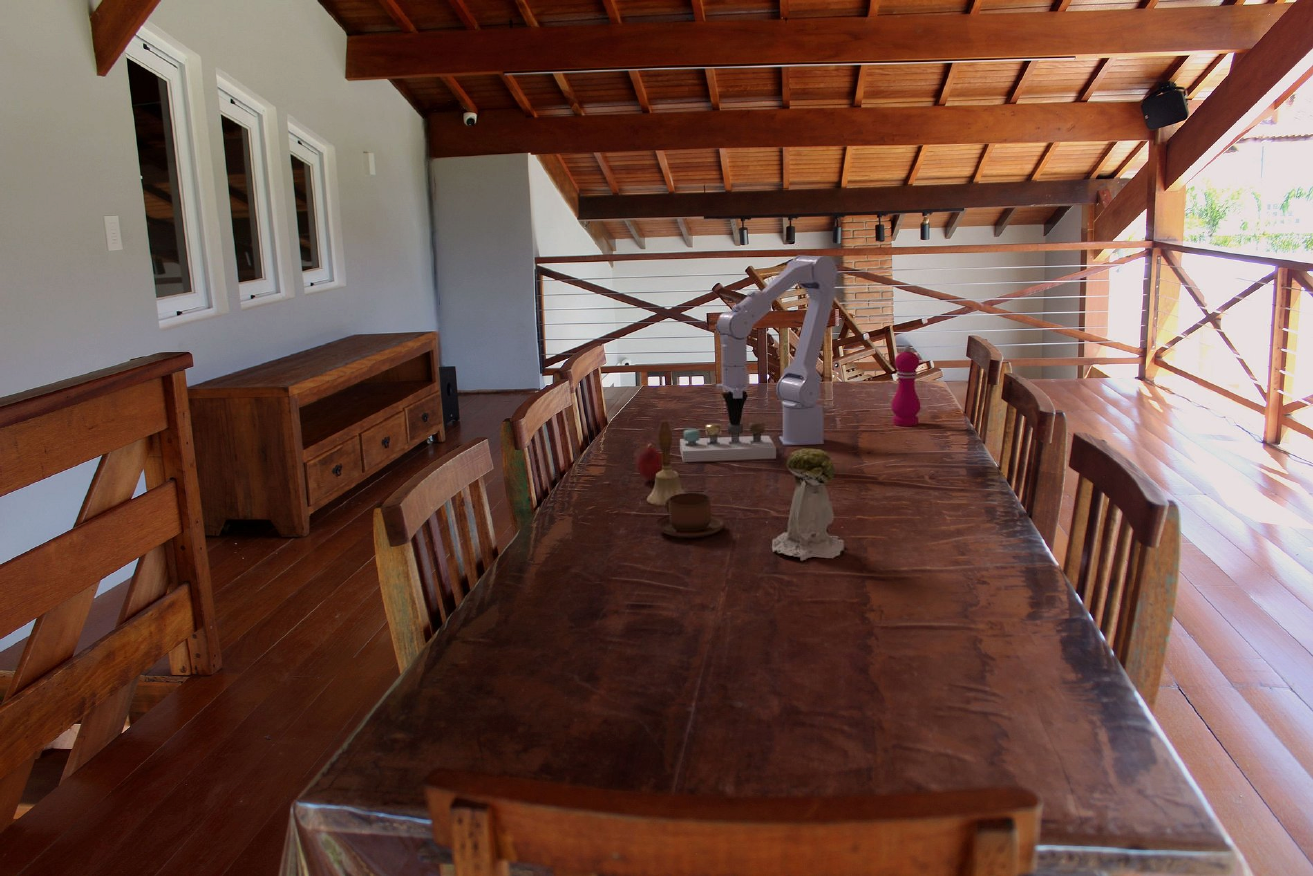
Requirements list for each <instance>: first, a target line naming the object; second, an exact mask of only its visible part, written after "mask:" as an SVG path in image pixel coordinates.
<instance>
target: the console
mask: <svg viewBox="0 0 1313 876" xmlns="http://www.w3.org/2000/svg"><path fill="white" fill-rule="evenodd" d="M717 438H718V443H716V444H710V437H703V438H702V437H700V440H698V441H696V446H688V441H685V440H684V438H680V439H679V451H680V455H681V456H680V457H681V459H682V463H688V462H689V463H690V462H692V463H693V462H695V463H696V462H697V463H698V462H715V461H716V462H717V461H719V462H720V461H742V460H767V459H768V460H770V459H777V447H776V446H775V444H774V442H773V440H772V439H771V437H770V436H769V435H761V442H753V435H752V436H750V435H749V436H739V443H732V442H731V436H729V437H727V436H725V437H717Z"/></svg>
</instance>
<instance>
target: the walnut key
mask: <svg viewBox="0 0 1313 876" xmlns="http://www.w3.org/2000/svg"><path fill="white" fill-rule="evenodd" d="M748 433H750V434H752V436H753V442H761V436H762V434H764V433H766V425H765V422H763V421H751V422H749V423H748Z"/></svg>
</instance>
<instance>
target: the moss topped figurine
mask: <svg viewBox="0 0 1313 876" xmlns="http://www.w3.org/2000/svg"><path fill="white" fill-rule="evenodd" d="M785 466H786V468H787V469H788V471H789V472H790V473H791V474H793V476H794V480H795V483H796V484H797V485H796V487H795V489H794V492H793V496H792V500H791V505H790V510H789V517H788V522H787V531H785V532H783V533H781V534H779V535H777V537H776V538H773V539H772V542H771V543H772V544H771V550H772V552H776V553H777V554H784V555H786V556H791V557H792V556H793V557H797V558H800V561H805V560H807V559H808V558H812V557H815V558H825V559H834V558H835V557H838V556H840V555H841V552H842V551H843V552H845V543H844V542H845V541H844V540H843V539H839V538H840V537H839V536H837V535H830V533H829V525H831V524H832V522H833V521H834V517H835V515H834V510H833V507H832V505H833V503H832V500H830V497H829V495H828V491H827V488H826V486H825V483H827V482H831V481H832V480H833V479H834V477H835V474H834V473H835V463H834V462H833V461H832V459H831V457H830V455H828V453H827V452H826V451H824V450H822V449H818V448H817V449H816V448H801V449H798V450H794V451H791V452H790V455H789V456H788V457H787V461H786V464H785ZM812 535H813V536H812Z"/></svg>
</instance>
